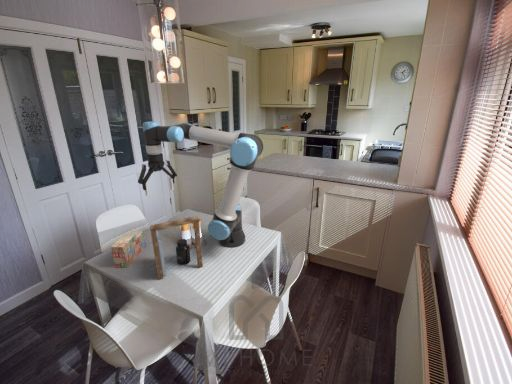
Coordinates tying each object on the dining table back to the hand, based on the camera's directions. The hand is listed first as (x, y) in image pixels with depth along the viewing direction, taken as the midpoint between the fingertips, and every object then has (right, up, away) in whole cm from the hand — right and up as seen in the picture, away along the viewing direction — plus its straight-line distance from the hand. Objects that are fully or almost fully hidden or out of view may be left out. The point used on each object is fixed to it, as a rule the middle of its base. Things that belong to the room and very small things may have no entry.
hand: (160, 192), depth 144 cm
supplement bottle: (+14, -36, -5) cm, 39 cm away
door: (+4, -37, -11) cm, 39 cm away
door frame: (+15, -38, -14) cm, 43 cm away
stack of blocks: (-15, -34, 0) cm, 37 cm away
